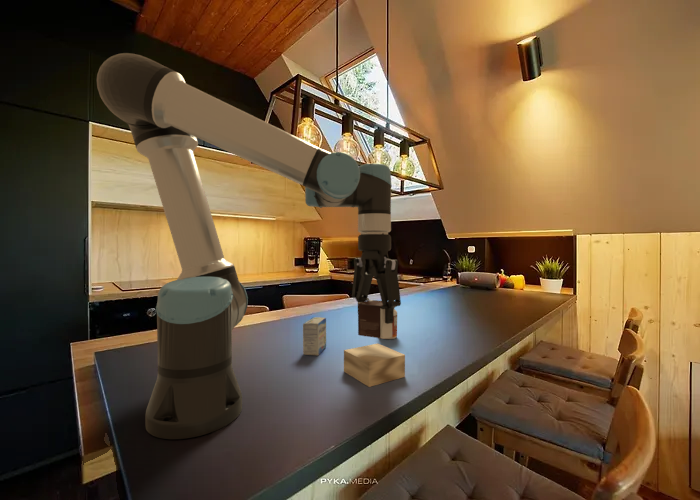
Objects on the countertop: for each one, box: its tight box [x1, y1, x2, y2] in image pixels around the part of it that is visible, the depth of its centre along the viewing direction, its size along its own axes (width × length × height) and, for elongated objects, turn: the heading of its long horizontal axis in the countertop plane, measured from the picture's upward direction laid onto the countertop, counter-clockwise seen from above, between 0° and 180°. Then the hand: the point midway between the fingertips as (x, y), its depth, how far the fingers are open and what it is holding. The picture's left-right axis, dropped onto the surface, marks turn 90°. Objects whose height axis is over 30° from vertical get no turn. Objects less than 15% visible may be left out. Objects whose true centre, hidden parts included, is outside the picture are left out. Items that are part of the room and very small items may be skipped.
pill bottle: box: [383, 307, 398, 340], centre depth 106 cm, size 6×6×11 cm
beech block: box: [343, 343, 406, 388], centre depth 75 cm, size 10×10×5 cm
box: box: [357, 299, 388, 339], centre depth 75 cm, size 6×6×7 cm
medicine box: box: [302, 316, 327, 356], centre depth 92 cm, size 8×4×9 cm, turn 168°
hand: (374, 332), depth 75 cm, fingers closed on box, 8 cm apart
